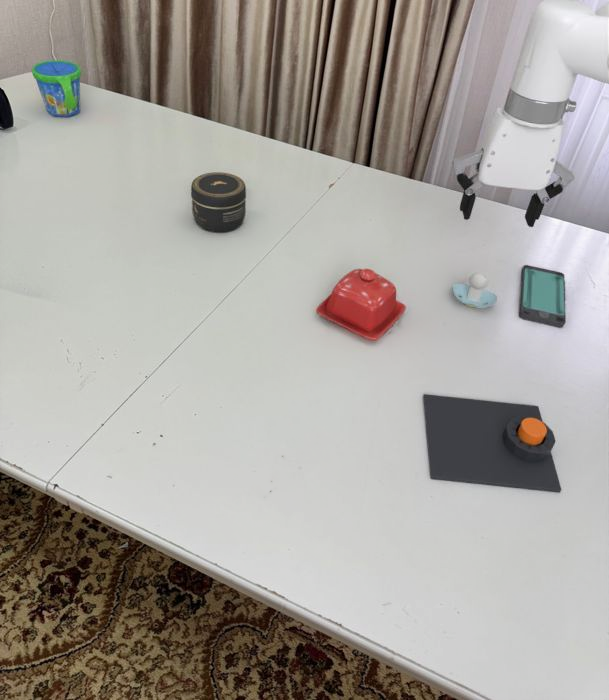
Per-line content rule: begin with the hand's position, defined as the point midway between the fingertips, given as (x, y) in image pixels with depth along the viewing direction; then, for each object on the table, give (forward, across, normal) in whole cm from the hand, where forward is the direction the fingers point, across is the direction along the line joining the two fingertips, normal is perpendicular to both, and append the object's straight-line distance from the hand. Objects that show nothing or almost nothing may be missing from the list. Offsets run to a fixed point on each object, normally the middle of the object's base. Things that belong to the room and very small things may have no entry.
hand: (496, 218), depth 94 cm
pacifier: (+16, 0, 0) cm, 16 cm away
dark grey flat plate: (+16, +2, +31) cm, 35 cm away
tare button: (+13, -3, +31) cm, 34 cm away
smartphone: (+16, -13, -3) cm, 20 cm away
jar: (+16, +46, -17) cm, 51 cm away
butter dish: (+16, +18, +7) cm, 25 cm away
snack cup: (+17, +91, -59) cm, 109 cm away
